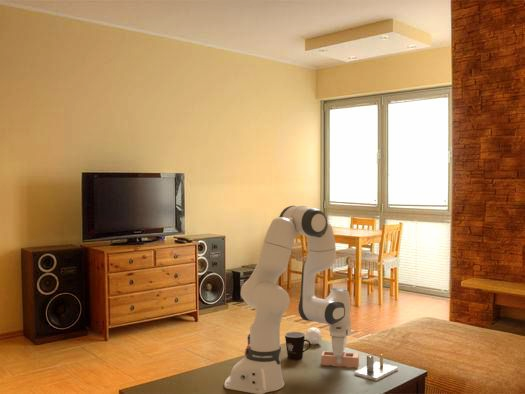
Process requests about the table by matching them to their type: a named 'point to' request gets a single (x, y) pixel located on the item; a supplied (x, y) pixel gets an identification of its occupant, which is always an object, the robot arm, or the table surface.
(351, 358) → the link
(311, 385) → the table surface
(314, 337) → the geometric ball
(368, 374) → the post plate
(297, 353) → the coffee mug
